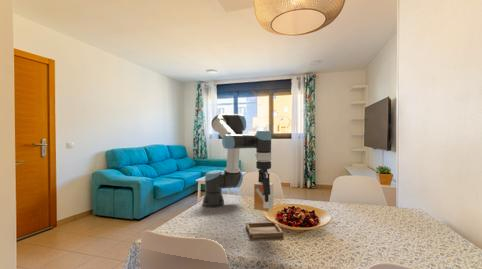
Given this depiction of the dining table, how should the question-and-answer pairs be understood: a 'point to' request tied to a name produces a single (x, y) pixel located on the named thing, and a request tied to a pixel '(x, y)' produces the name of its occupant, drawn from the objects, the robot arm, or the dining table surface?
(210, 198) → the robot arm
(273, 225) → the tray
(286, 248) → the dining table surface
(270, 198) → the small box
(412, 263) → the dining table surface
